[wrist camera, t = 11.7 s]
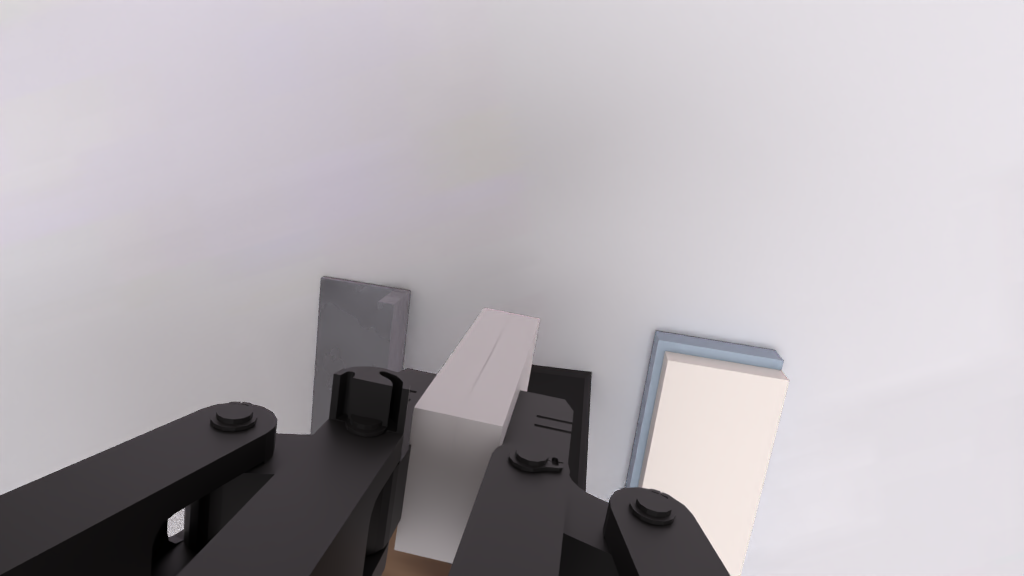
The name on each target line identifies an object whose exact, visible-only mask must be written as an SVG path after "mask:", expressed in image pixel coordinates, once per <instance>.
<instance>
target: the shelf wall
mask: <svg viewBox="0 0 1024 576" xmlns="http://www.w3.org/2000/svg"><path fill="white" fill-rule="evenodd" d="M397 526H398V525H397ZM396 533H397V527H396V529H395V531H394V533H393V535H392V537H391V538H390V540H389V546H388V553H387V560H386V565H385V569H384V571H383V573H382V575H381V576H448V574H449V572H450V569H451V566H452V565H451V564H449V563H446V562H444V561H439V560H435V559H431V558H427V557H423V556H418V555H414V554H410V553H406V552H401V551H397V550H394V547H395V540H396Z"/></svg>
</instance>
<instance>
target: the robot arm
mask: <svg viewBox="0 0 1024 576" xmlns="http://www.w3.org/2000/svg"><path fill="white" fill-rule="evenodd" d="M539 323H540V318H535V317H530V316H525V315H520V314H515V313H510V312H505V311H500V310H495V309H489V308H483V310H482V311H481V312H480V314H479V315H478V317H477V318H476V320H475V321H474V322H473V324H472V325H471V327H470V328H469V330H468V331H467V332H466V334H465V335H464V337H463V338H462V340H461V341H460V342H459V344H458V345H457V347H456V348H455V350H454V351H453V352H452V354H451V355H450V357H449V358H448V360H447V361H446V362H445V364H444V365H443V367H442V368H441V370H440V371H439V372H438V374H432V373H427V372H422V371H418V370H413V369H408V368H407V369H405V370H402V371H399V372H395V371H392V370H388V369H385V368H379V367H371V366H359V367H350V368H345V369H341V370H340V371H338V372H336V373H334V374H333V384H332V393H331V403H330V412H329V419H328V420H327V421H326V422H325V423H324V424H323V425H322V426H321V427H320V428H319V429H318V430H317V431H316V432H315V433H314V434H312V435H298V434H277V433H276V427H277V418H276V417H275V415H274V413H273V412H271V411H270V410H268V409H266V408H264V407H261V406H257V405H253V404H251V403H247V402H242V403H240V402H229V403H226V404H217V405H213V406H210V407H207V408H203V409H201V410H198V411H196V412H194V413H191V414H189V415H187V416H184V417H182V418H180V419H177V420H175V421H173V422H171V423H168V424H166V425H164V426H161V427H159V428H157V429H154V430H152V431H150V432H147V433H145V434H143V435H140V436H138V437H136V438H133V439H131V440H129V441H126V442H124V443H122V444H119V445H117V446H115V447H112V448H110V449H108V450H105V451H103V452H101V453H98V454H96V455H94V456H91V457H89V458H87V459H84V460H82V461H80V462H77V463H75V464H73V465H70V466H68V467H66V468H63V469H61V470H59V471H56V472H54V473H52V474H49V475H47V476H45V477H42V478H40V479H38V480H35V481H33V482H31V483H28V484H26V485H24V486H21V487H19V488H17V489H14V490H12V491H10V492H7V493H5V494H3V495H0V576H381V575H382V573H383V571H384V569H385V565H386V560H387V553H388V546H389V540H390V538H391V537H392V535H393V533H394V531H395V529H396V527H397V533H396V540H395V547H394V550H397V551H401V552H406V553H410V554H414V555H418V556H423V557H427V558H431V559H435V560H439V561H444V562H448V563H452V566H451V569H450V572H449V574H448V576H730V574H729V572H728V571H727V569H726V568H725V566H724V564H723V563H722V561H721V559H720V558H719V556H718V554H717V553H716V551H715V550H714V548H713V546H712V545H711V543H710V541H709V540H708V538H707V537H706V535H705V533H704V532H703V530H702V528H701V527H700V525H699V524H698V522H697V520H696V519H695V517H694V515H693V514H692V513H691V512H690V511H689V510H688V509H687V507H686V506H685V505H683V504H682V503H680V502H679V501H677V500H676V499H674V498H673V497H671V496H670V495H668V494H666V493H664V492H662V493H661V491H658V490H655V489H646V488H641V487H628V488H623V489H620V490H618V491H615V492H614V494H613V495H612V496H611V497H610V500H609V503H608V502H605V501H603V500H601V499H598V498H596V497H594V496H592V495H590V494H588V493H587V492H585V491H584V490H582V489H581V488H579V487H578V486H577V485H576V484H575V483H574V482H573V481H572V479H571V478H570V476H569V474H570V469H569V465H568V458H569V449H570V440H571V430H572V421H573V412H574V411H573V410H572V408H571V407H570V406H569V404H568V403H567V401H566V400H565V399H560V398H555V397H550V396H546V395H541V394H536V393H531V392H527V388H528V383H529V377H530V372H531V367H532V361H533V356H534V350H535V345H536V339H537V334H538V329H539ZM183 508H185V515H184V530H182V531H181V532H179V533H177V534H176V535H174V536H171V537H168V534H167V522H168V519H169V518H170V517H171V516H172V515H173V514H175V513H176V512H178V511H180V510H181V509H183ZM397 525H398V526H397Z"/></svg>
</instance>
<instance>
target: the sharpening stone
mask: <svg viewBox="0 0 1024 576" xmlns="http://www.w3.org/2000/svg"><path fill="white" fill-rule="evenodd" d="M783 361H784V360H783V359H782V358H781V357H780V356H779V354H778V353H777V352H776V351H775V350H771V349H765V348H758V347H752V346H746V345H740V344H734V343H728V342H722V341H716V340H710V339H703V338H697V337H691V336H685V335H679V334H673V333H667V332H661V331H656V333H655V338H654V343H653V348H652V353H651V358H650V363H649V369H648V374H647V379H646V384H645V389H644V394H643V399H642V405H641V410H640V415H639V420H638V425H637V430H636V435H635V440H634V446H633V451H632V456H631V461H630V466H629V471H628V476H627V481H626V487H625V488H628V487H641V488H646V489H655V490H658V491H661V493H662V492H664V493H666V494H668V495H670V496H671V497H673V498H674V499H676V500H677V501H679V502H680V503H682V504H683V505H685V506H686V507H687V509H688V510H689V511H690V512H691V513H692V514H693V515H694V517H695V519H696V520H697V522H698V524H699V525H700V527H701V528H702V530H703V532H704V533H705V535H706V537H707V538H708V540H709V541H710V543H711V545H712V546H713V548H714V550H715V551H716V553H717V554H718V556H719V558H720V559H721V561H722V563H723V564H724V566H725V568H726V569H727V571H728V572H729V574H730V576H741V572H742V568H743V564H744V560H745V556H746V552H747V548H748V544H749V540H750V536H751V532H752V528H753V524H754V520H755V516H756V512H757V508H758V504H759V500H760V496H761V492H762V488H763V484H764V480H765V476H766V472H767V468H768V464H769V460H770V456H771V452H772V448H773V444H774V440H775V436H776V432H777V428H778V424H779V420H780V416H781V412H782V408H783V404H784V400H785V397H786V393H787V389H788V385H789V379H788V378H787V377H786V376H785V374H784V373H783V372H782V371H781V370H782V365H783Z"/></svg>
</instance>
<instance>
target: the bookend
mask: <svg viewBox="0 0 1024 576" xmlns="http://www.w3.org/2000/svg"><path fill="white" fill-rule="evenodd" d="M409 301H410V290H404V289H398V288H392V287H385V286H379V285H373V284H367V283H361V282H355V281H349V280H343V279H337V278H330V277H322V278H321V286H320V301H319V316H318V331H317V346H316V361H315V376H314V391H313V407H312V422H311V435H312V434H314V433H315V432H316V431H317V430H318V429H319V428H320V427H321V426H322V425H323V424H324V423H325V422H326V421H327V420H328V419H329V412H330V403H331V393H332V384H333V374H334V373H336V372H338V371H340V370H341V369H345V368H350V367H359V366H371V367H379V368H385V369H388V370H392V371H395V372H399V371H402V370H403V360H404V350H405V341H406V331H407V321H408V311H409Z"/></svg>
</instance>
